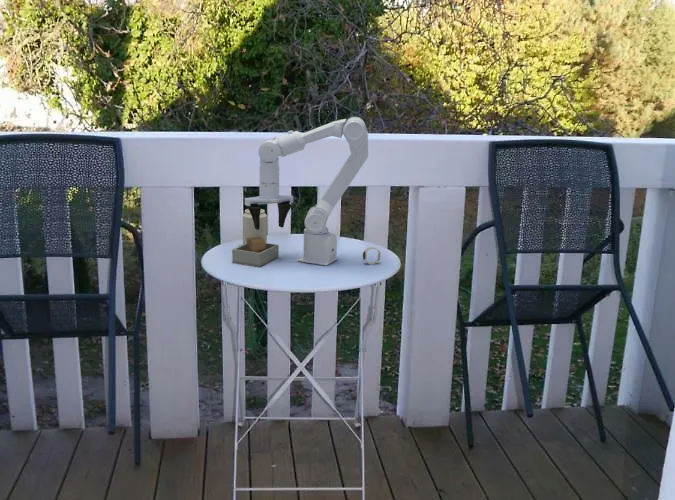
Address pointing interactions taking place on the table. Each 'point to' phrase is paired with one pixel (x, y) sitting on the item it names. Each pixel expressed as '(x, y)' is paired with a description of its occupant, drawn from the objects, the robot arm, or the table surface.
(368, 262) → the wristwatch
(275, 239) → the table surface
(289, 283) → the table surface
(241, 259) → the bin
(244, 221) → the can
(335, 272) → the table surface
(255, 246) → the walnut block
